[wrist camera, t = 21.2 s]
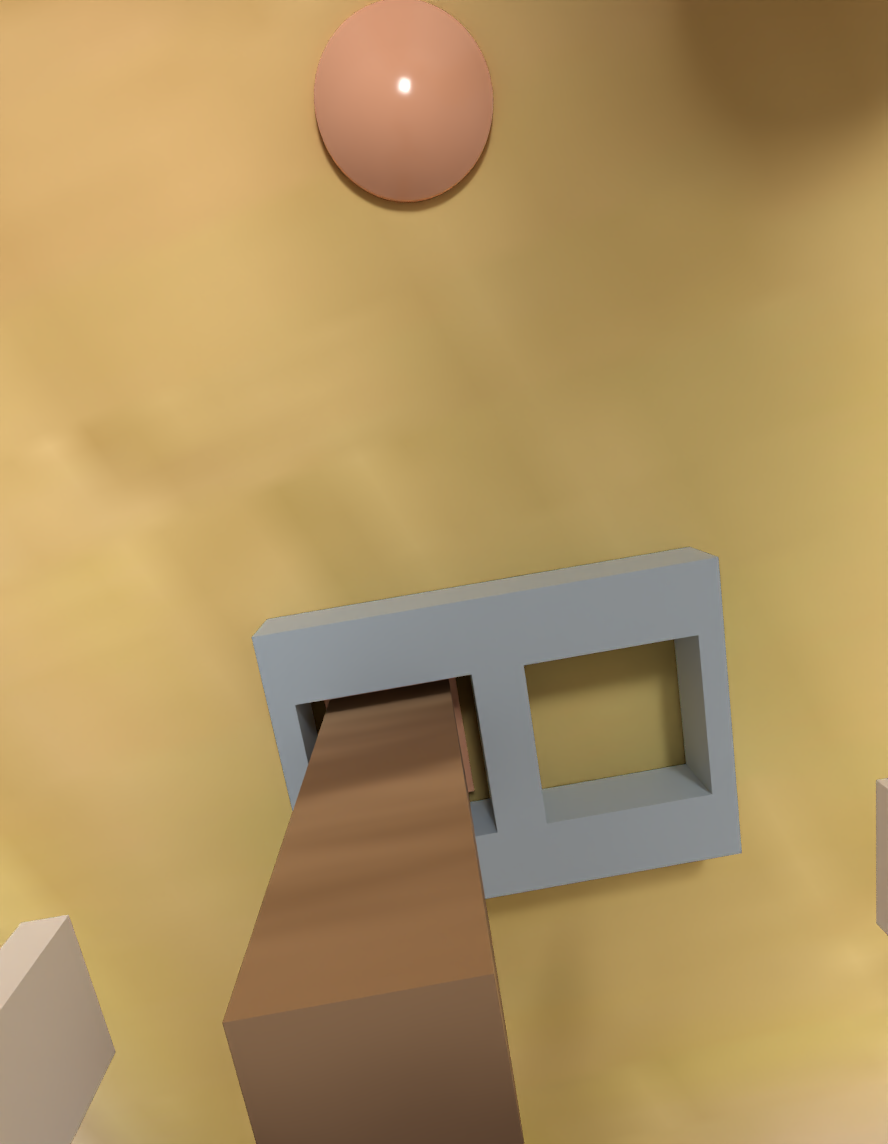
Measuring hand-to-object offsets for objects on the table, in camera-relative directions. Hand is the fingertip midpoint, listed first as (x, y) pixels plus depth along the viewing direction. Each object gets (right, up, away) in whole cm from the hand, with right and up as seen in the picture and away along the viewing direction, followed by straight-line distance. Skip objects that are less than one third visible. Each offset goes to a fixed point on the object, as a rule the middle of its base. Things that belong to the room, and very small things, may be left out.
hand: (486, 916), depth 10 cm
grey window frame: (+1, 0, +11) cm, 11 cm away
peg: (-2, 0, +11) cm, 11 cm away
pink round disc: (-2, +19, +8) cm, 20 cm away
